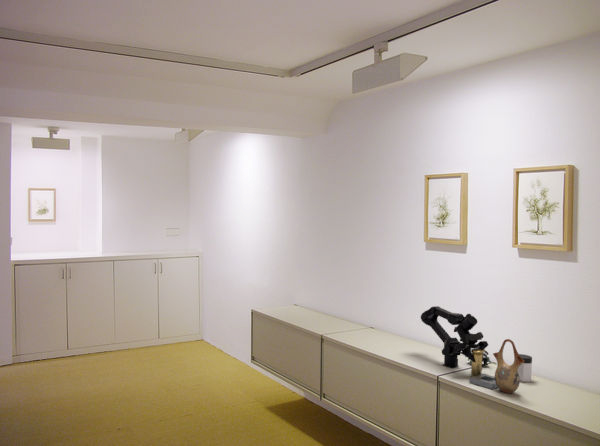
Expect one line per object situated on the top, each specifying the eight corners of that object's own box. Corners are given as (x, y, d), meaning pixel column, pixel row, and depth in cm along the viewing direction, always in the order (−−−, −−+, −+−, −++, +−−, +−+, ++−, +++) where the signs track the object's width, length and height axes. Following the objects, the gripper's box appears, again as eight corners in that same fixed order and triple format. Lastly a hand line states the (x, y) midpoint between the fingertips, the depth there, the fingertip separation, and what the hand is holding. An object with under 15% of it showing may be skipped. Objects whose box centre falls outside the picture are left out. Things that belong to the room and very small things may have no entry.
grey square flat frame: (469, 382, 261) (470, 377, 261) (482, 378, 269) (482, 373, 269) (492, 389, 252) (492, 384, 252) (504, 384, 260) (505, 379, 260)
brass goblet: (467, 375, 271) (469, 349, 270) (473, 372, 275) (474, 348, 274) (478, 378, 266) (480, 352, 266) (484, 375, 271) (485, 350, 270)
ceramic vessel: (485, 387, 254) (488, 336, 253) (497, 385, 259) (500, 334, 258) (515, 398, 240) (518, 344, 240) (527, 395, 245) (530, 342, 244)
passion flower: (484, 374, 294) (497, 360, 288) (470, 373, 289) (482, 358, 283) (473, 359, 302) (486, 344, 297) (459, 357, 297) (472, 342, 292)
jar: (534, 380, 269) (536, 357, 268) (526, 383, 264) (528, 359, 263) (518, 375, 276) (519, 353, 275) (510, 378, 270) (511, 355, 270)
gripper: (458, 327, 270) (473, 354, 260) (486, 325, 277) (501, 352, 268) (447, 339, 277) (461, 366, 267) (475, 337, 285) (489, 363, 275)
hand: (478, 361), depth 269 cm, fingers closed on brass goblet, 5 cm apart
